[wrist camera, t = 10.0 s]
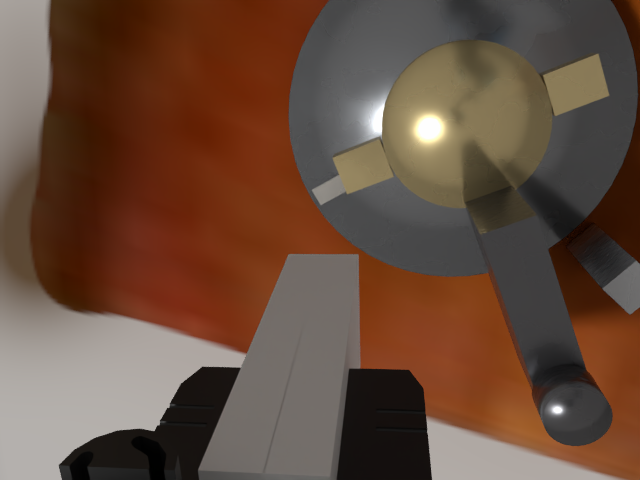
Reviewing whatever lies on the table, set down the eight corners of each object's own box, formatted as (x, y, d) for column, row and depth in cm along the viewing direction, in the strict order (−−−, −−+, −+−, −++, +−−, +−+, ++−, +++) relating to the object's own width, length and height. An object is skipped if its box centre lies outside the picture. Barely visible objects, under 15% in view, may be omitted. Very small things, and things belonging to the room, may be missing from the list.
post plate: (542, -147, 28) (582, -192, 23) (697, 219, 33) (763, 257, 27) (230, 54, 33) (199, 59, 27) (409, 350, 38) (413, 407, 32)
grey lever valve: (311, 98, 30) (288, 121, 22) (573, -12, 27) (648, -29, 19) (427, 385, 34) (441, 483, 27) (661, 316, 32) (748, 404, 24)
